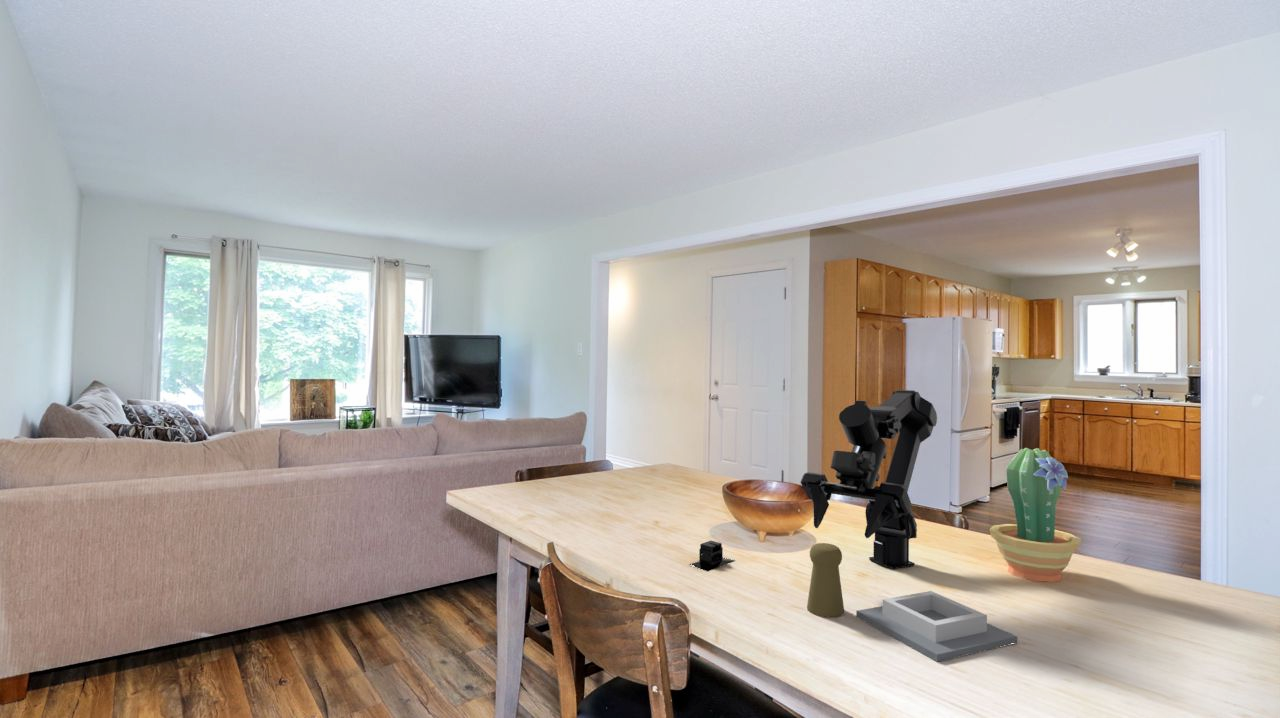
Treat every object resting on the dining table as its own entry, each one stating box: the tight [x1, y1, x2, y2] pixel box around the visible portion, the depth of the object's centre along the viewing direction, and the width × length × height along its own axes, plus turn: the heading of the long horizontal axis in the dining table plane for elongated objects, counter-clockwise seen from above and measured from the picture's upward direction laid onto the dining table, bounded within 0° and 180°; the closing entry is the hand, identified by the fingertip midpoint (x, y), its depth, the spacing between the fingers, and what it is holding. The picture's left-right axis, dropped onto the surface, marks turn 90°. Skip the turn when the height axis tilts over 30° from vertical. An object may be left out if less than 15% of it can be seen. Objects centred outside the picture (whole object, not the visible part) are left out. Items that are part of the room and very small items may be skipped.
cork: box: [806, 542, 845, 619], centre depth 101 cm, size 6×6×11 cm
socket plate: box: [855, 590, 1018, 663], centre depth 94 cm, size 16×16×4 cm
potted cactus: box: [989, 447, 1082, 583], centre depth 120 cm, size 15×15×25 cm
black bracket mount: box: [691, 540, 736, 572], centre depth 125 cm, size 12×7×5 cm, turn 136°
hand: (840, 531), depth 106 cm, fingers open, 9 cm apart
